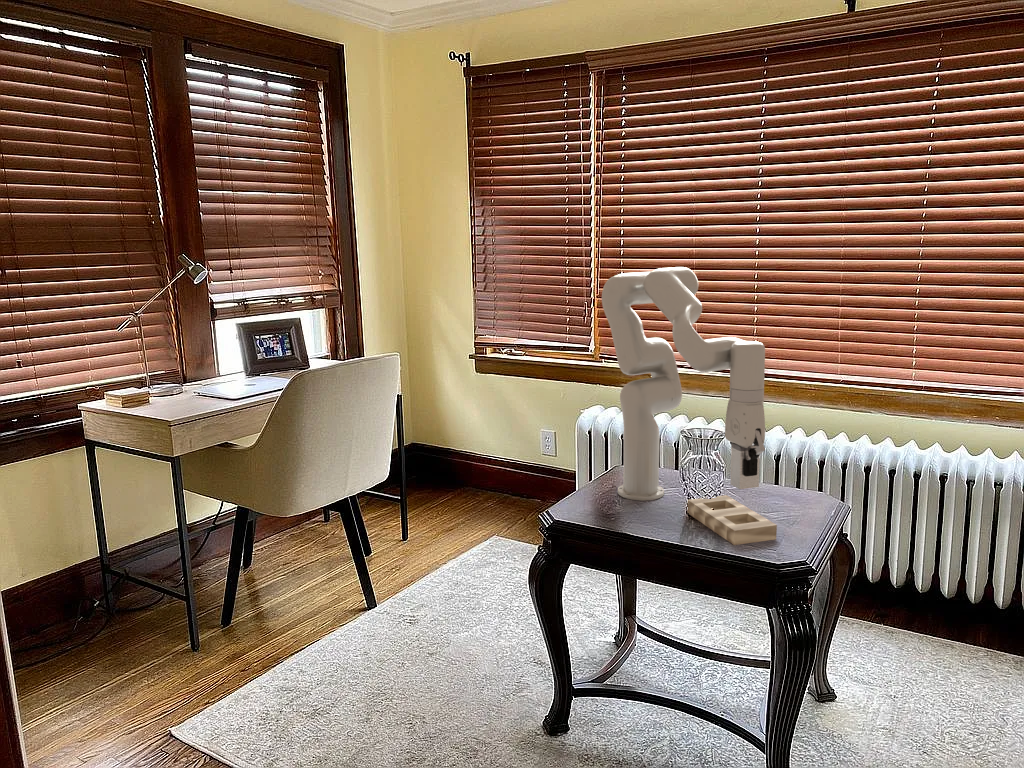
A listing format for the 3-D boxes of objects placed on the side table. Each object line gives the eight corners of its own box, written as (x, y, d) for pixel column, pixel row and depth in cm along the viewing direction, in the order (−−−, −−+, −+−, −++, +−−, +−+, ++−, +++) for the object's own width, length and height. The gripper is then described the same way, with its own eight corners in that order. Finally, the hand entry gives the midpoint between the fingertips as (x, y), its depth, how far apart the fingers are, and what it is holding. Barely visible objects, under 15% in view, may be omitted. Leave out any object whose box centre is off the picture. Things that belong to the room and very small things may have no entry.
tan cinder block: (687, 513, 203) (687, 499, 202) (726, 508, 206) (726, 495, 205) (734, 545, 182) (734, 530, 181) (776, 539, 185) (776, 524, 184)
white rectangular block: (730, 484, 188) (731, 443, 186) (749, 482, 189) (750, 440, 187) (739, 489, 184) (740, 447, 182) (758, 486, 185) (759, 445, 183)
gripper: (713, 390, 189) (711, 465, 193) (752, 403, 174) (750, 484, 177) (741, 388, 191) (739, 461, 195) (782, 400, 176) (780, 481, 179)
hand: (744, 471), depth 186 cm, fingers closed on white rectangular block, 4 cm apart
